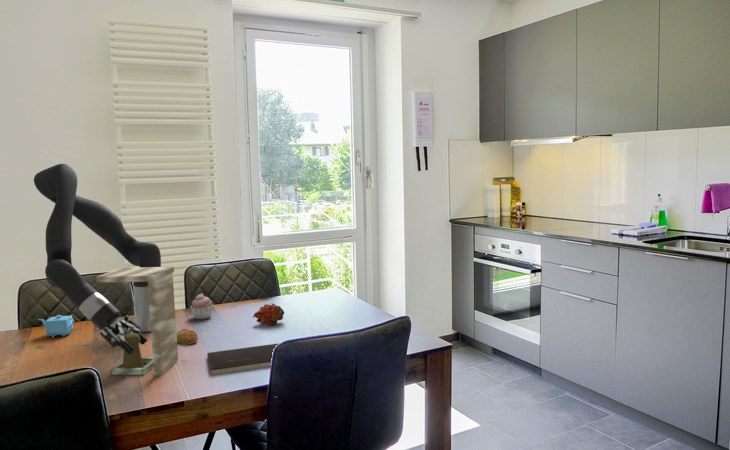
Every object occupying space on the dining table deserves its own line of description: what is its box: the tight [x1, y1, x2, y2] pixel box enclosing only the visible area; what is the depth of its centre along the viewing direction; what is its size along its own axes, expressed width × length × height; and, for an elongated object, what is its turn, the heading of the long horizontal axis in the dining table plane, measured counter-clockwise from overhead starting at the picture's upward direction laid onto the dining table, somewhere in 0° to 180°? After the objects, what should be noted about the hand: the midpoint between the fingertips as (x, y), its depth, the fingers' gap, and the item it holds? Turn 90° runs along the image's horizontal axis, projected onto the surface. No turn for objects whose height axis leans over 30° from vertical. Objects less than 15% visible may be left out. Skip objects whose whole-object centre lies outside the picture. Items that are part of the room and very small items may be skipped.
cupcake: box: [189, 293, 214, 320], centre depth 221 cm, size 9×9×10 cm
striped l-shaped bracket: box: [96, 266, 179, 377], centre depth 165 cm, size 17×14×30 cm
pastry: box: [176, 328, 199, 346], centre depth 192 cm, size 9×7×4 cm
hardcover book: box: [207, 343, 280, 375], centre depth 171 cm, size 16×23×2 cm
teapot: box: [38, 314, 75, 337], centre depth 202 cm, size 12×6×8 cm, turn 102°
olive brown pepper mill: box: [122, 333, 145, 368], centre depth 166 cm, size 6×6×11 cm
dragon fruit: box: [252, 303, 285, 326], centre depth 210 cm, size 8×8×12 cm
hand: (139, 347), depth 166 cm, fingers open, 8 cm apart
